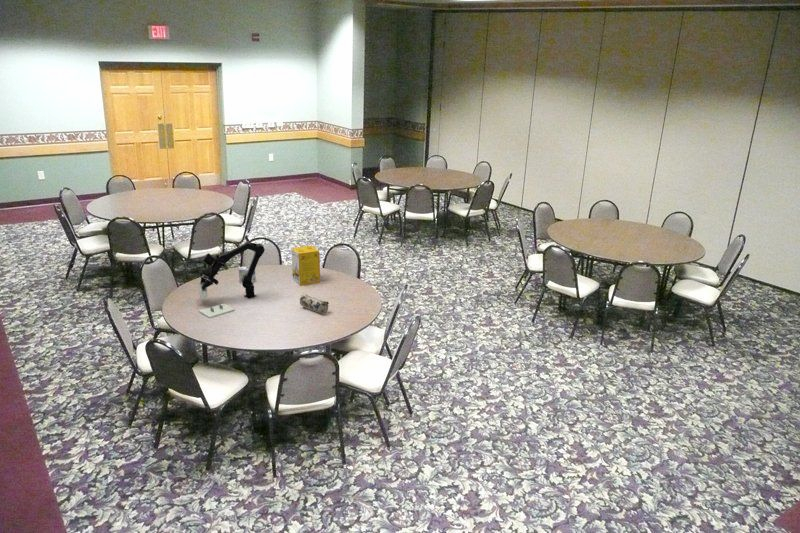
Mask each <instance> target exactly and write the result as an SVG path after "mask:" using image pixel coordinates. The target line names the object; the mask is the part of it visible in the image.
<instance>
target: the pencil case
mask: <svg viewBox="0 0 800 533" xmlns="http://www.w3.org/2000/svg"><path fill="white" fill-rule="evenodd" d="M299 304H300V306H302V307H303V308H305V309H308V310H310V311H313V312H316V313H320V314H321V315H326V314H327V312H328V310H329V305H330V303H329V301H326V300H322V299H319V298H316V297H315V296H309V295H308V294H306V293H305V294H304V293H302V294H300V298H299Z"/></svg>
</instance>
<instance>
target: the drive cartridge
mask: <svg viewBox="0 0 800 533" xmlns="http://www.w3.org/2000/svg"><path fill="white" fill-rule="evenodd" d="M204 284H205V282H202V283H200V282H198V284H197V285H198V286H197V287H198V294H199V298H201V299H206V298H208V297H209V295H208V287H207V288H205V289H202V287H203V285H204Z"/></svg>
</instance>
